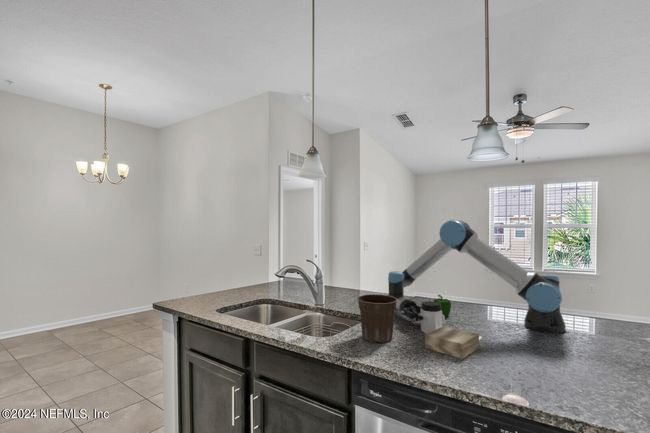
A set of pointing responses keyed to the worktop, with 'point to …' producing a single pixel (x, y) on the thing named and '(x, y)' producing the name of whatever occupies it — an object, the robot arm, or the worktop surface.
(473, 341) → the maple block
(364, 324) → the plant pot
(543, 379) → the worktop surface
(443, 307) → the bell pepper
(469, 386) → the worktop surface
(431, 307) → the jar
